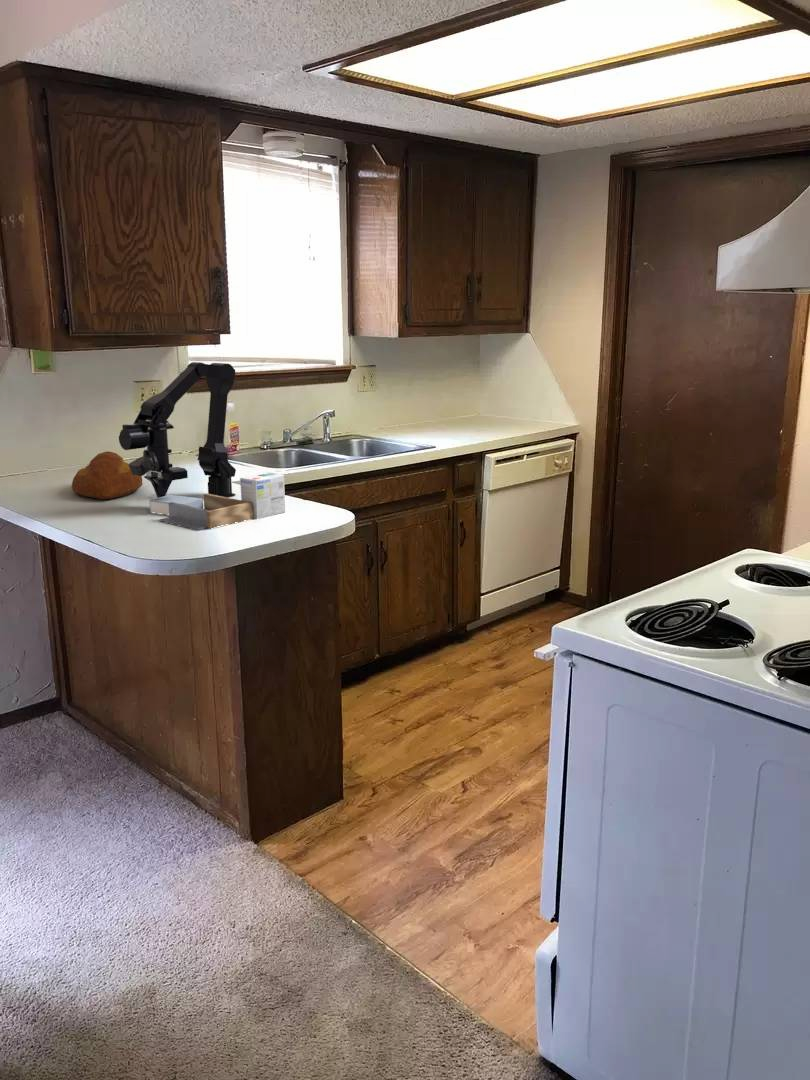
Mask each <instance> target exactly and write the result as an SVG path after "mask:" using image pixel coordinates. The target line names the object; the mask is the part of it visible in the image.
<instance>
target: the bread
mask: <svg viewBox="0 0 810 1080" xmlns="http://www.w3.org/2000/svg"><path fill="white" fill-rule="evenodd" d="M128 464H129V463H128V462H126V461H124V459H123V457H122V456H121V455H119V454H117V453H116V452H113V451H104V452H100V453H97V455H95V456H94V457H93V458H92V459H91V460H90V461H89V463H88V464H87V465H86V466H85V467H83V468H81V469H79V470H78V471H77V472H76V474H75V475H74V477H73V479H72V482H71V490H72V491H73V492H75V493H77V494H79V495H81V496H85V497H88V498H93V499H98V500H99V499H100V500H106V501H107V500H111V499H116V498H121V497H124V496H127V495H129V494H132V493H134V492H137V490H139V489H140V488H141V487H142V486H143V476H138V475H133V474H132V472H131V470H130V467H129V465H128Z"/></svg>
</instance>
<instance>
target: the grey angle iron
mask: <svg viewBox="0 0 810 1080" xmlns="http://www.w3.org/2000/svg"><path fill="white" fill-rule="evenodd" d="M168 504H169V515H168V517H163V518H160V519H159V522H161V521H163V522H162V523H165V522H167V523H166V524H169V523H172V524H171V525H173V524H176V525H175V526H177V525H180V526H179V527H182V526H184V527H183V528H186V527H188V528H187V529H190V528H192V529H191V530H194V529H196V530H195V531H198V530H199V531H201V530H200V529H203V530H205V529H204V528H207V529H208V526H207V511H210V510H206V509H204V508H203V509H201V508H197V507H192V506H187V505H183V504H178V503H174V502H171V503H168Z"/></svg>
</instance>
